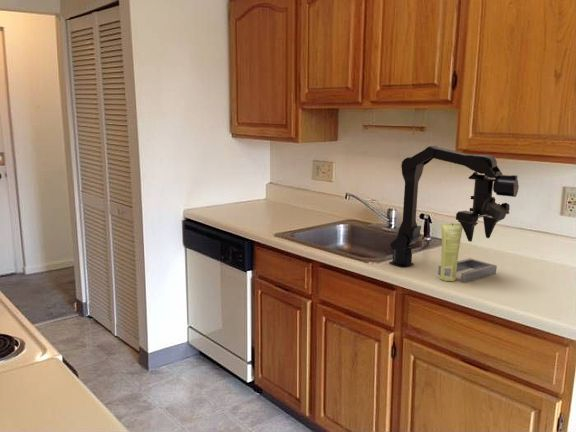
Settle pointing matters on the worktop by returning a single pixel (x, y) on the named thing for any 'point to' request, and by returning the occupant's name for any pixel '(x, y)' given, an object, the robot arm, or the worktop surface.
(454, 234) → the tube
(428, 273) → the worktop surface
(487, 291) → the worktop surface
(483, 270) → the u collar
